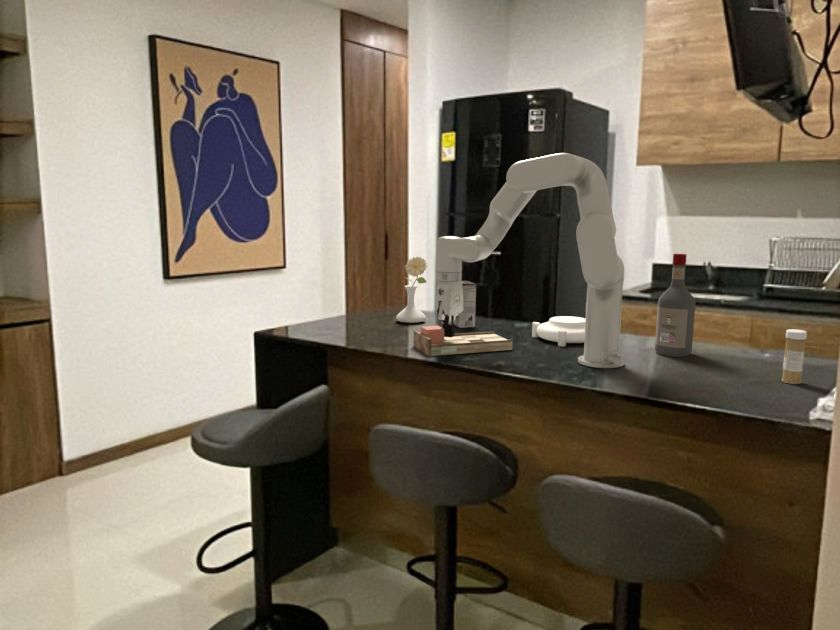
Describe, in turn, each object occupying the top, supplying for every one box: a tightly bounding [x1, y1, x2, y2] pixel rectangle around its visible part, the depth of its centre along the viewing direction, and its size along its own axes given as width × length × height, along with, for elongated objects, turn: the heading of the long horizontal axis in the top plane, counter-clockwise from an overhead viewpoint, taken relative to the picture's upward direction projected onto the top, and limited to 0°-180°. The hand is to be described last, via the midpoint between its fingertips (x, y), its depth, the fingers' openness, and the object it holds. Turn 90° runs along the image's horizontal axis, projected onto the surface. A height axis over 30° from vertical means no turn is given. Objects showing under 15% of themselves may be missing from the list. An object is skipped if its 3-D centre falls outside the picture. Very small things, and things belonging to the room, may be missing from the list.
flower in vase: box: [395, 256, 428, 324], centre depth 247 cm, size 13×11×25 cm
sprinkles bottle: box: [781, 328, 808, 385], centre depth 167 cm, size 5×5×13 cm
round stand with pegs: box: [531, 315, 585, 347], centre depth 219 cm, size 24×24×7 cm
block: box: [420, 325, 444, 344], centre depth 202 cm, size 6×6×4 cm
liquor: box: [654, 253, 696, 358], centre depth 197 cm, size 9×9×30 cm
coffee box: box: [454, 280, 477, 329], centre depth 243 cm, size 9×6×16 cm
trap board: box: [413, 330, 513, 357], centre depth 206 cm, size 14×28×5 cm, turn 109°
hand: (448, 336), depth 203 cm, fingers closed
